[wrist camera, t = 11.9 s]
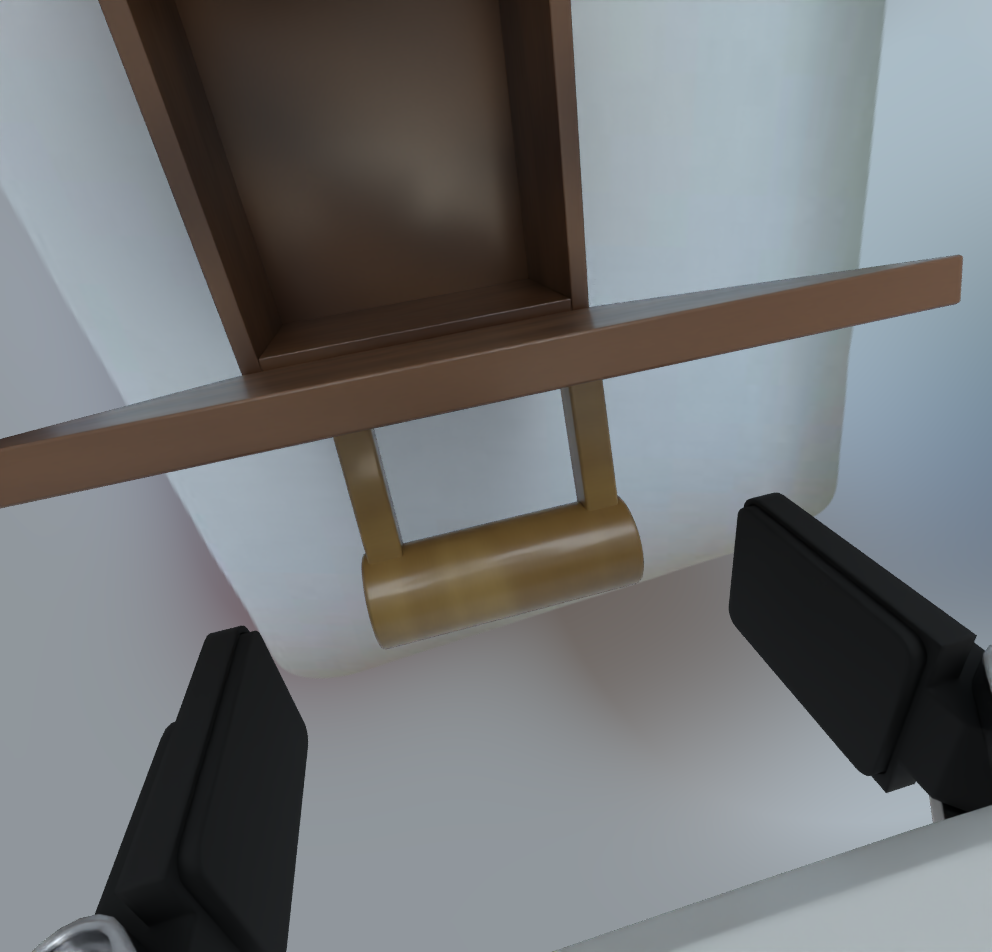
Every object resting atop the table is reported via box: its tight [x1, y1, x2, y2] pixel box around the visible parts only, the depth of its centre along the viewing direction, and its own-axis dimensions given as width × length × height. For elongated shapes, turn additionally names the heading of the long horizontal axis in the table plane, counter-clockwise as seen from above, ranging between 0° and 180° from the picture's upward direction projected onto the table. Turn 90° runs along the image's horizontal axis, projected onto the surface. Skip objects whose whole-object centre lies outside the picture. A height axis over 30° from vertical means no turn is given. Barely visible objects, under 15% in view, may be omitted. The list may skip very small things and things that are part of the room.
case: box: [98, 0, 589, 375], centre depth 25 cm, size 17×17×9 cm
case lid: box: [0, 255, 963, 649], centre depth 17 cm, size 18×17×6 cm
